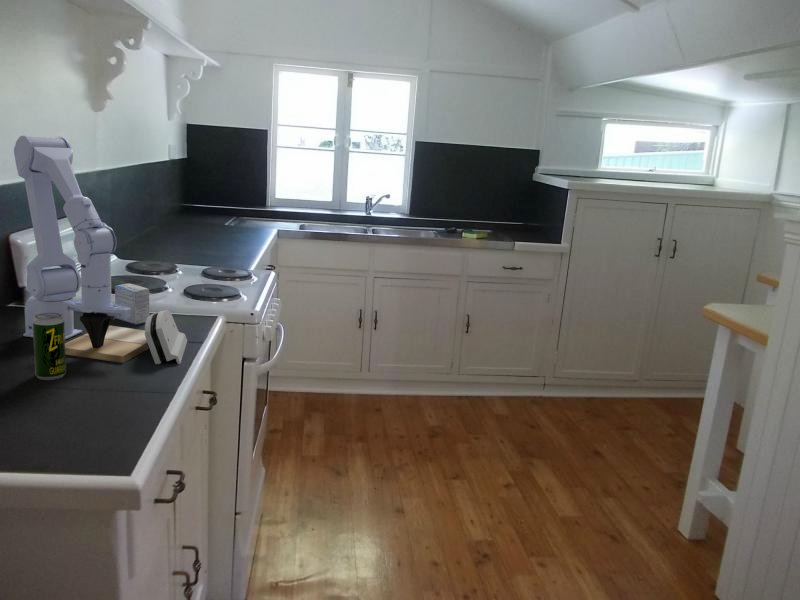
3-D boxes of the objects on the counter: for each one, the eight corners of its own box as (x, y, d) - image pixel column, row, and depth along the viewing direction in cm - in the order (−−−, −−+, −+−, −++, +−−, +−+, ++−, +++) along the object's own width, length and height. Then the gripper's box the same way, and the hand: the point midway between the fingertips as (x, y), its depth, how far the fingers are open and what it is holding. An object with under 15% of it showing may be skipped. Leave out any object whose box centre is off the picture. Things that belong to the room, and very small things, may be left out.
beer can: (28, 377, 129) (25, 317, 127) (50, 369, 135) (48, 310, 132) (51, 382, 128) (48, 321, 125) (72, 374, 133) (70, 315, 130)
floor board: (82, 342, 152) (82, 335, 151) (106, 331, 160) (106, 325, 160) (144, 351, 149) (144, 344, 149) (165, 339, 158) (165, 333, 157)
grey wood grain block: (150, 322, 171) (150, 288, 169) (134, 325, 167) (134, 291, 165) (130, 315, 175) (129, 282, 173) (114, 318, 171) (114, 285, 169)
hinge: (180, 364, 143) (163, 321, 140) (157, 371, 142) (140, 328, 140) (187, 340, 159) (172, 301, 156) (167, 346, 158) (152, 307, 155)
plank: (58, 353, 144) (57, 346, 143) (82, 342, 151) (81, 335, 151) (123, 363, 141) (123, 356, 141) (143, 351, 149) (143, 344, 149)
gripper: (52, 284, 139) (54, 347, 142) (116, 292, 137) (118, 356, 140) (74, 278, 146) (76, 338, 149) (136, 285, 144) (136, 346, 147)
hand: (97, 346), depth 145 cm, fingers closed, pressing on plank
